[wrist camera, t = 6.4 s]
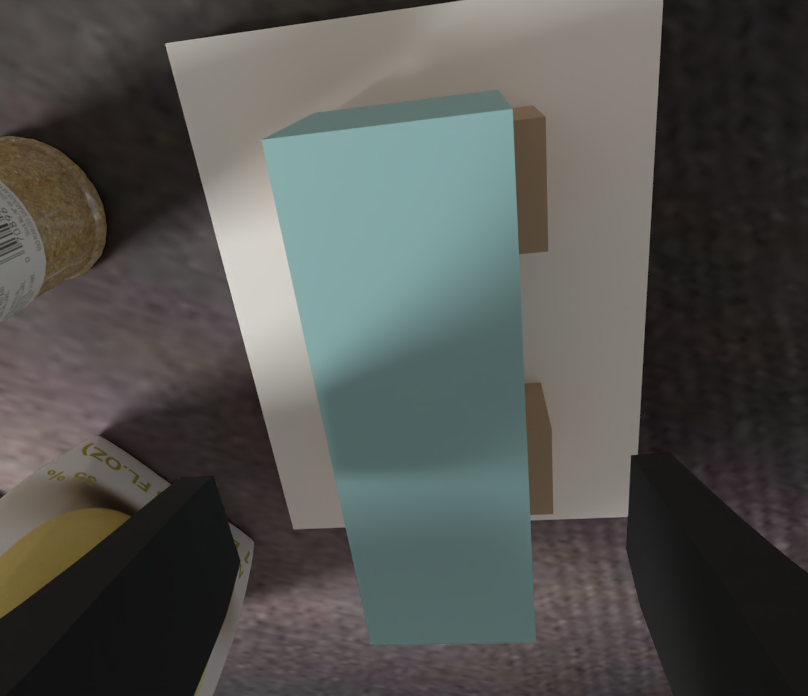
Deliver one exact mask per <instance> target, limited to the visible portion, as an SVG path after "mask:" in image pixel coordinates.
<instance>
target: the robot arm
mask: <svg viewBox="0 0 808 696" xmlns="http://www.w3.org/2000/svg"><path fill="white" fill-rule="evenodd" d="M626 550H627V554H628V558H629V562H630V566H631V571H632V575H633V579H634V583H635V587H636V591H637V595H638V599H639V603H640V606H641V610H642V612H643V615H644V618H645V621H646V623H647V626H648V629H649V631H650V634H651V637H652V640H653V642H654V645H655V648H656V650H657V653H658V656H659V658H660V661H661V664H662V666H663V669H664V672H665V674H666V677H667V680H668V682H669V685H670V687H671V690H672V693H673V695H674V696H808V573H807V572H806V571H804V570H803V569H802V568H800V567H799V566H798V565H796V564H795V563H794V562H793V561H791V560H790V559H789V558H788V557H786V556H785V555H784V554H783V553H782V552H780V551H779V550H778V549H777V548H776V547H774V546H773V545H772V544H771V543H770V542H769V541H767V540H766V539H765V538H764V537H763V536H762V535H760V534H759V533H758V532H757V531H756V530H754V529H753V528H752V527H751V526H750V525H749V524H747V523H746V522H745V521H744V520H743V519H742V518H741V517H739V516H738V515H737V514H736V513H735V512H734V511H733V510H732V509H730V508H729V507H728V506H727V505H726V504H725V503H724V502H723V501H722V500H721V499H719V498H718V497H717V496H716V495H715V494H714V493H713V492H712V491H711V490H710V489H708V488H707V487H706V486H705V485H704V484H703V483H702V482H701V481H700V480H699V479H698V478H697V477H696V476H694V475H693V474H692V473H691V472H690V471H689V470H688V469H687V468H686V467H685V466H684V465H683V464H681V463H680V462H679V461H678V460H677V459H676V458H675V457H674V456H672V455H671V454H670V453H664V454H644V455H631V465H630V485H629V505H628V525H627V546H626ZM240 562H241V560H240V557H239V554H238V551H237V548H236V545H235V542H234V539H233V536H232V533H231V530H230V526H229V523H228V520H227V517H226V514H225V511H224V508H223V505H222V502H221V499H220V496H219V492H218V489H217V486H216V483H215V480H214V477H213V476H202V477H182V478H180V479H178V480H177V481H176V482H174V483H173V484H171V485H170V486H169V487H167V488H166V489H165V490H164V491H162V492H161V493H160V494H159V495H157V496H156V497H155V498H154V499H152V500H151V501H150V502H149V503H147V504H146V505H145V506H144V507H142V508H141V509H140V510H139V511H138V512H136V513H135V514H134V515H133V516H132V517H130V518H129V519H128V520H127V521H125V522H124V523H123V524H122V525H121V526H119V527H118V528H117V529H116V530H114V531H113V532H112V533H111V534H110V535H108V536H107V537H106V538H105V539H103V540H102V541H101V542H100V543H99V544H97V545H96V546H95V547H94V548H92V549H91V550H90V551H89V552H87V553H86V554H85V555H84V556H83V557H81V558H80V559H79V560H78V561H76V562H75V563H74V564H72V565H71V566H70V567H68V568H67V569H66V570H64V571H63V572H62V573H60V574H59V575H58V576H57V577H55V578H54V579H53V580H51V581H50V582H49V583H47V584H46V585H45V586H43V587H42V588H41V589H39V590H38V591H37V592H36V593H34V594H33V595H32V596H30V597H29V598H28V599H26V600H25V601H24V602H22V603H21V604H20V605H18V606H17V607H16V608H14V609H13V610H11V611H10V612H9V613H7V614H6V615H4V616H3V617H2V618H0V696H194V694H195V692H196V690H197V687H198V685H199V682H200V680H201V677H202V675H203V673H204V670H205V668H206V665H207V663H208V660H209V658H210V655H211V653H212V650H213V648H214V646H215V643H216V641H217V638H218V636H219V633H220V631H221V628H222V625H223V623H224V620H225V618H226V615H227V611H228V608H229V604H230V601H231V597H232V594H233V590H234V586H235V582H236V578H237V574H238V570H239V566H240Z"/></svg>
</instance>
